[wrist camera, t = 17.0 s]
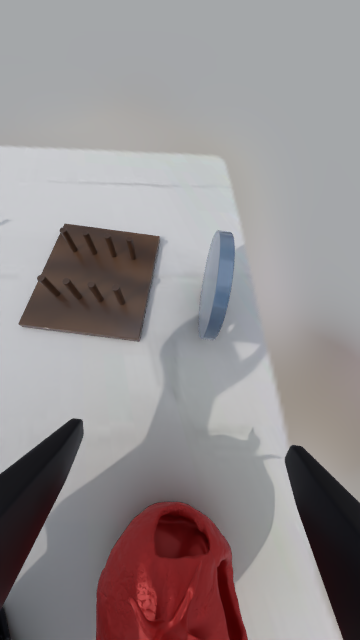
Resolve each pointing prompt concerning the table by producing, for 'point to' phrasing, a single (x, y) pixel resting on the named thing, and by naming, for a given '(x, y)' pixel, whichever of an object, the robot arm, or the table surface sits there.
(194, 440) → the table surface
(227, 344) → the table surface
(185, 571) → the pomegranate
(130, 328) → the rack
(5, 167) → the table surface
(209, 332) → the plate
